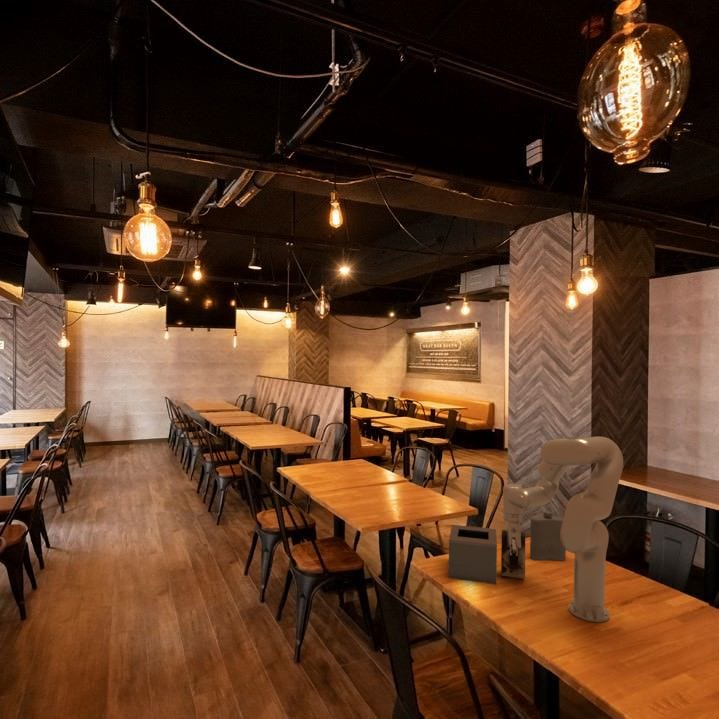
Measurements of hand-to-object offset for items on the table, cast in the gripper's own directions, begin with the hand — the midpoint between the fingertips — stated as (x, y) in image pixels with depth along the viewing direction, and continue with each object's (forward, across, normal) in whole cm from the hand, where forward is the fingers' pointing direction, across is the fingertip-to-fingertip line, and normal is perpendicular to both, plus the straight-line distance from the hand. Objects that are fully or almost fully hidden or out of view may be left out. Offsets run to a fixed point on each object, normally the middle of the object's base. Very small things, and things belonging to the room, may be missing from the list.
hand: (513, 561), depth 192 cm
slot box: (+6, +1, +16) cm, 17 cm away
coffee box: (+5, 0, 0) cm, 5 cm away
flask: (+6, +24, -15) cm, 29 cm away
